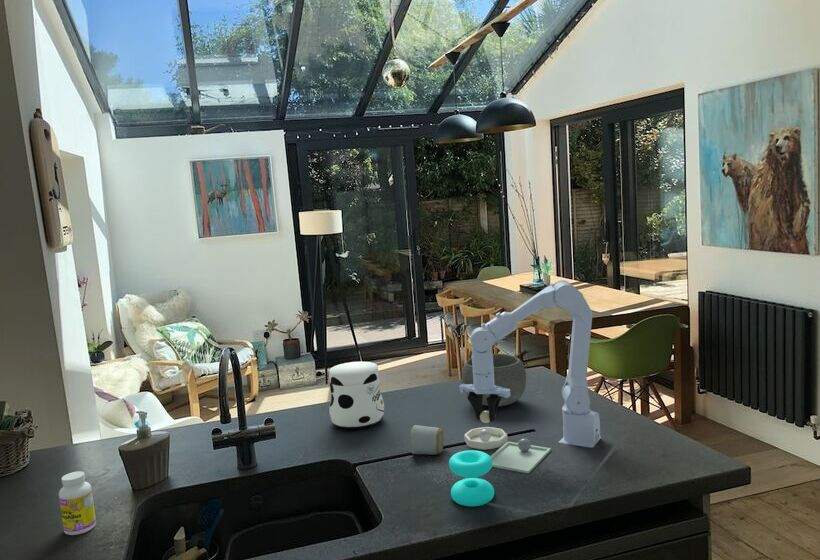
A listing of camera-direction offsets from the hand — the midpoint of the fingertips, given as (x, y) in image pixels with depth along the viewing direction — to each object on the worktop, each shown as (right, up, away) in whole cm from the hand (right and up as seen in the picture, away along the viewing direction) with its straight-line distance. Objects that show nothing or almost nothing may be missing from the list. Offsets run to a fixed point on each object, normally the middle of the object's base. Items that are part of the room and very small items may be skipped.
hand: (486, 419), depth 177 cm
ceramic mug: (-16, -9, 0) cm, 18 cm away
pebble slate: (+9, -7, -7) cm, 13 cm away
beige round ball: (0, -1, 0) cm, 1 cm away
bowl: (+7, -3, +34) cm, 35 cm away
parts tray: (+7, -8, -10) cm, 15 cm away
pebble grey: (0, -6, +2) cm, 7 cm away
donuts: (-7, -12, -29) cm, 32 cm away
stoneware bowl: (0, -7, +2) cm, 7 cm away
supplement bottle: (-96, -19, -30) cm, 103 cm away
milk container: (-37, -7, +26) cm, 46 cm away
